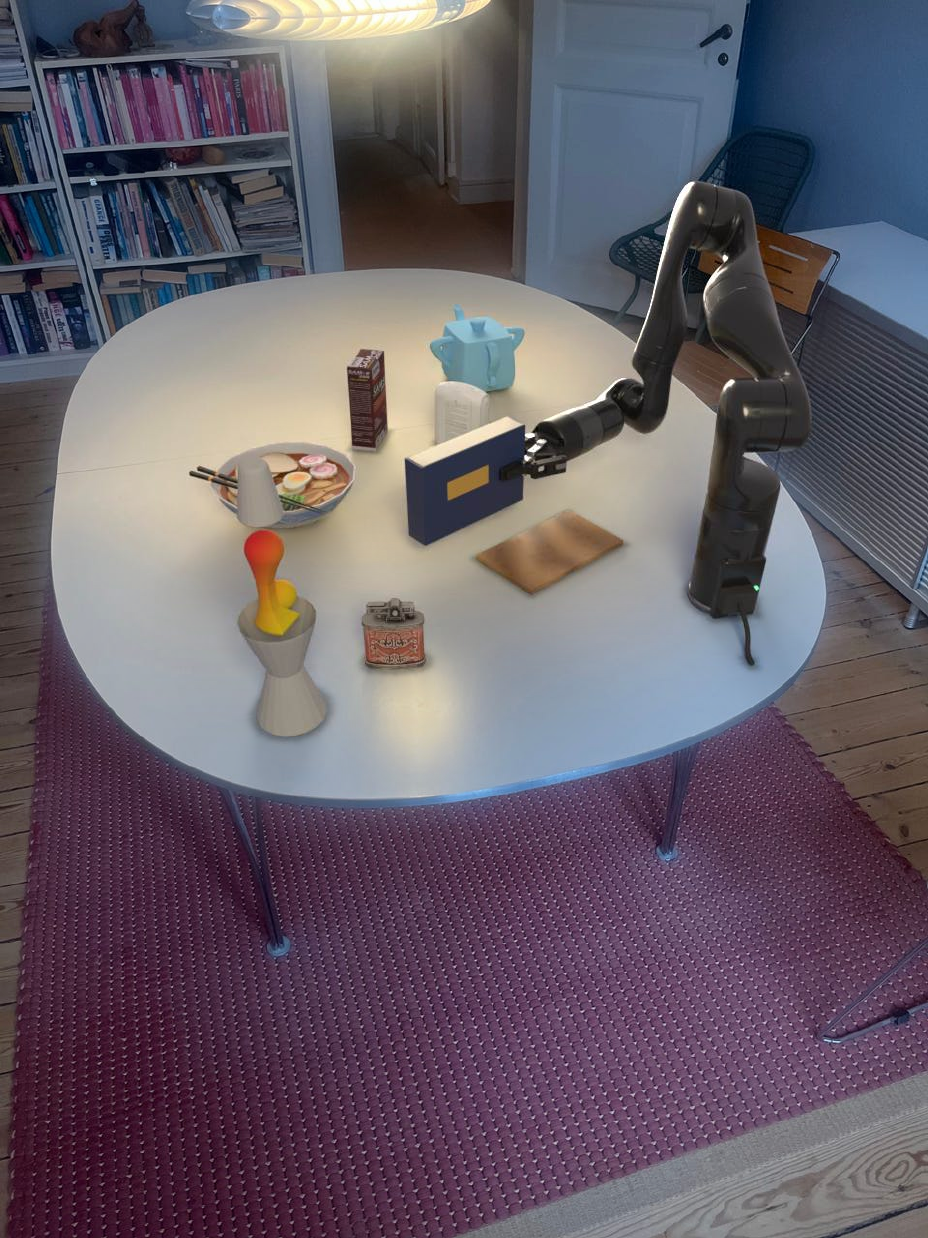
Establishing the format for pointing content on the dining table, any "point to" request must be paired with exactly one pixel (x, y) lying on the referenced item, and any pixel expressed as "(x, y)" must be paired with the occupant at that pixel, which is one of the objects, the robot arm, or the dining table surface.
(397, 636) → the lighter
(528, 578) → the cork mat
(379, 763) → the dining table surface
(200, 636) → the dining table surface
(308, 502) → the ramen bowl
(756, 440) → the robot arm
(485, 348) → the teapot
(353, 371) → the supplement box
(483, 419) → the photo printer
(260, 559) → the lava lamp
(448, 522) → the book
